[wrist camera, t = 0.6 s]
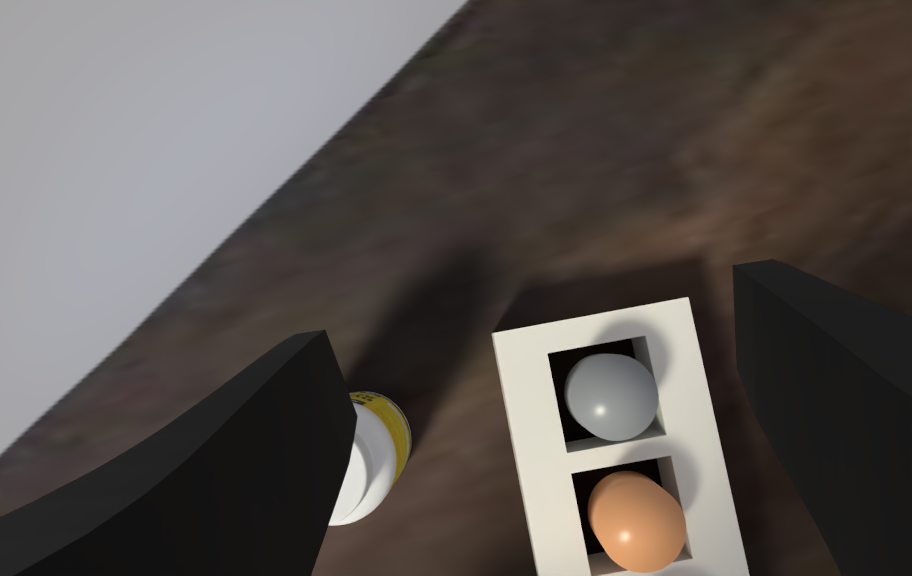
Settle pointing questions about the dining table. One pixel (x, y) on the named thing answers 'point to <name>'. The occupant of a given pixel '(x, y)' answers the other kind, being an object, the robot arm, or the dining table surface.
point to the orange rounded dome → (636, 521)
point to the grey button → (611, 396)
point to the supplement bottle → (372, 456)
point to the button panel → (667, 439)
